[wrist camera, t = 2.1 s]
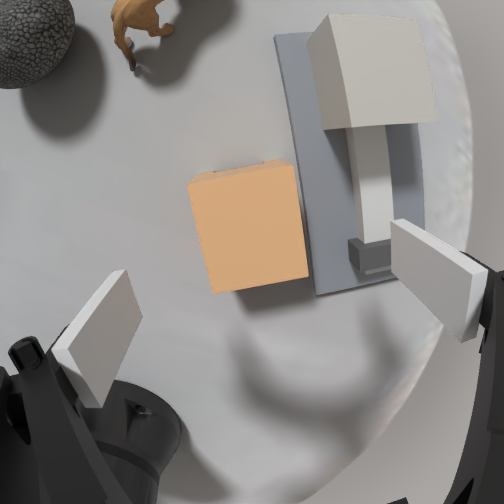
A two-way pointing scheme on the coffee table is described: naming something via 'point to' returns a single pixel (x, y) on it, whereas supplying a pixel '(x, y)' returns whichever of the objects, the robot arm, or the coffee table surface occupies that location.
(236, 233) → the block
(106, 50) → the coffee table surface
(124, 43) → the lion figurine
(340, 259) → the rail board
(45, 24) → the decorative ball
